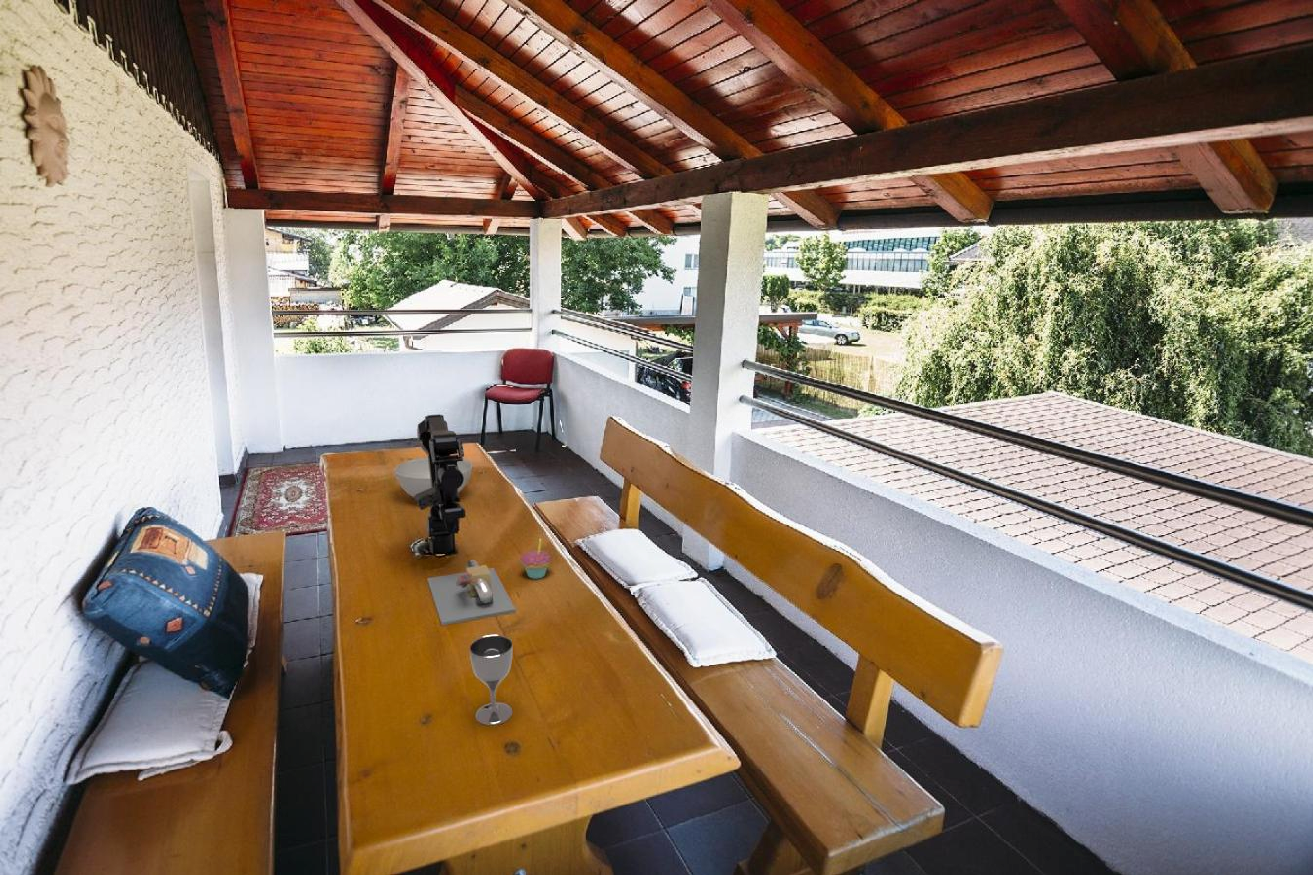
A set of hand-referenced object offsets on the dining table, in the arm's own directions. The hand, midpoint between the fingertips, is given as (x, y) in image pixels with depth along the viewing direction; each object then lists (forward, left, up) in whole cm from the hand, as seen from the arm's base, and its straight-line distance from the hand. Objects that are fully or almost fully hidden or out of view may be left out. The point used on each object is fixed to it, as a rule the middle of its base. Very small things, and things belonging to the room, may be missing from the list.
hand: (449, 532), depth 200 cm
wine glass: (+20, +64, -12) cm, 69 cm away
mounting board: (+2, +16, -12) cm, 20 cm away
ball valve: (0, +17, -12) cm, 20 cm away
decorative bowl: (-21, -61, -12) cm, 65 cm away
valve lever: (+4, +14, -9) cm, 17 cm away
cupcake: (-18, +15, -12) cm, 27 cm away
